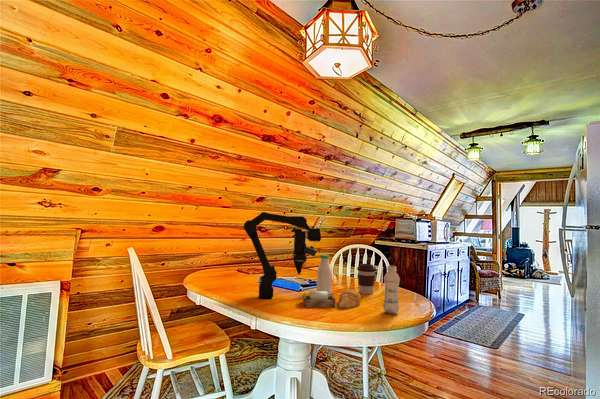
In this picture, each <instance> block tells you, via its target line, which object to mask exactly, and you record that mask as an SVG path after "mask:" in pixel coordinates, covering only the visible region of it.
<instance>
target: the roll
mask: <svg viewBox="0 0 600 399" xmlns="http://www.w3.org/2000/svg"><path fill="white" fill-rule="evenodd" d="M308 296H309V299H310V300H328V296H329V295H328V292H327V291H317V290H310V291H309V295H308Z"/></svg>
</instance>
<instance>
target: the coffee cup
mask: <svg viewBox="0 0 600 399" xmlns="http://www.w3.org/2000/svg"><path fill="white" fill-rule="evenodd" d="M356 268H357V269H356V270H357V272H358V273H357V279H358V280H357V281H358V282H357V284H358V293H360V294H363V295H373V293H374V287H375V278H376V272H377V267H375V266H374V264H372V263H371V264H370V263H360V264H359V266H357V267H356Z"/></svg>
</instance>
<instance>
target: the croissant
mask: <svg viewBox="0 0 600 399" xmlns="http://www.w3.org/2000/svg"><path fill="white" fill-rule="evenodd" d="M361 301H362V296H361V293H360V292H359V291H357V290H356V289H353V288H352V289H347V290H346V289H345V290H344V291H342V292H341V293H340V294H339V298H338V307H339V309H350V308H356V307H358V306H359V305H360V304H361Z"/></svg>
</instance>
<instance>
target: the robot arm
mask: <svg viewBox="0 0 600 399" xmlns="http://www.w3.org/2000/svg"><path fill="white" fill-rule="evenodd" d="M264 221H271V222H277V223H283V224H288V225H291V226H293V227H292V228H291V229H290V232H291V233H294V235H293V251H292V258H293V259H292V260H293V264H294V267H295V270H296V272H297V275H301V274H302V273H301V272H302V269H303V265H304V264H305V263H306V262H307V254H308V255H309V256H311V257H314V258H315V256H316V254H317V252H318V251H317V249H314V248H315V247H314V246H313V245H310V246H307V243H306V240H308V242H317V243H318V242H321V241H322V240H321V239H322V234H321V228H319V227H314V228H312V227H310V226H309V224H308V220H307V218H306V217H305V216H300V215H298V216H297V215H296V216H295V215H294V216H293V215H289V216H288V215H287V216H286V215H281V214H276V213H275V214H274V213H269V212H266V211H262V212H261V213H260V214H258V215H257V216H256V217H254V218H253V219H248V220H246V221H245V222H244V224H243V230H244V231H245V233H246V234H247V236H248V237H249V239H250V240H251V242H252V245H253V247H254V250H255V253H256V254H257V257H258V259H259V261H260V264H261V266H262V271H263V275H262V276H261V277H259V282H260V283H259V285H258V299H260V300H261V299H262V300H265V299H266V300H269V299H270V300H272V299H273V297H274V287H273V283H274V282H276V280H277V274H278V271H277V270H276V268H275V265H274V263H272V264H271V263H270V262H269V259H268V257H267V255H266V252H265V251H264V248H263V246H262V243H261V241H260V238H259V234H258V230H257V227H258V226H259V225H260V224H261V223H263V222H264ZM296 227H297V228H296ZM302 229H303V230H302Z"/></svg>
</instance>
